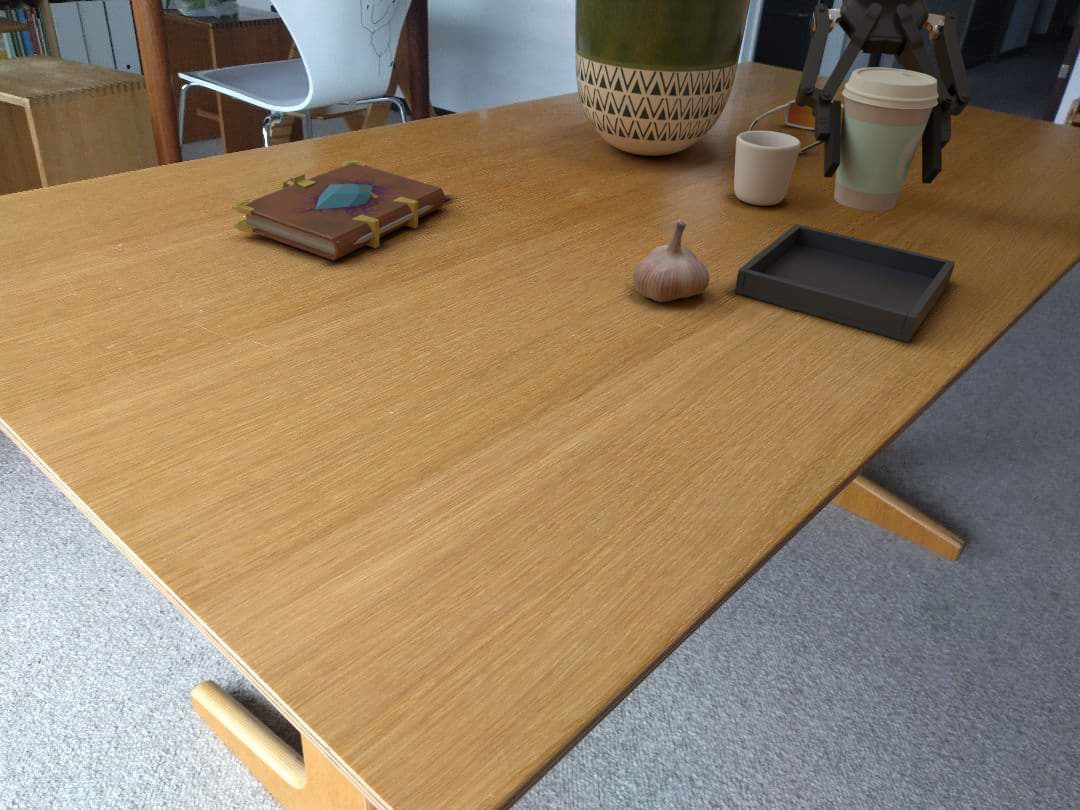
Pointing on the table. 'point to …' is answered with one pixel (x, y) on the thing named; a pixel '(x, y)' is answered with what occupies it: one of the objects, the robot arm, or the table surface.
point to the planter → (656, 68)
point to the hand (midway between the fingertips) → (881, 173)
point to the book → (339, 209)
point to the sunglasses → (796, 119)
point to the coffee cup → (881, 134)
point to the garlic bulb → (670, 271)
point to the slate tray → (847, 280)
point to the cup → (764, 166)
